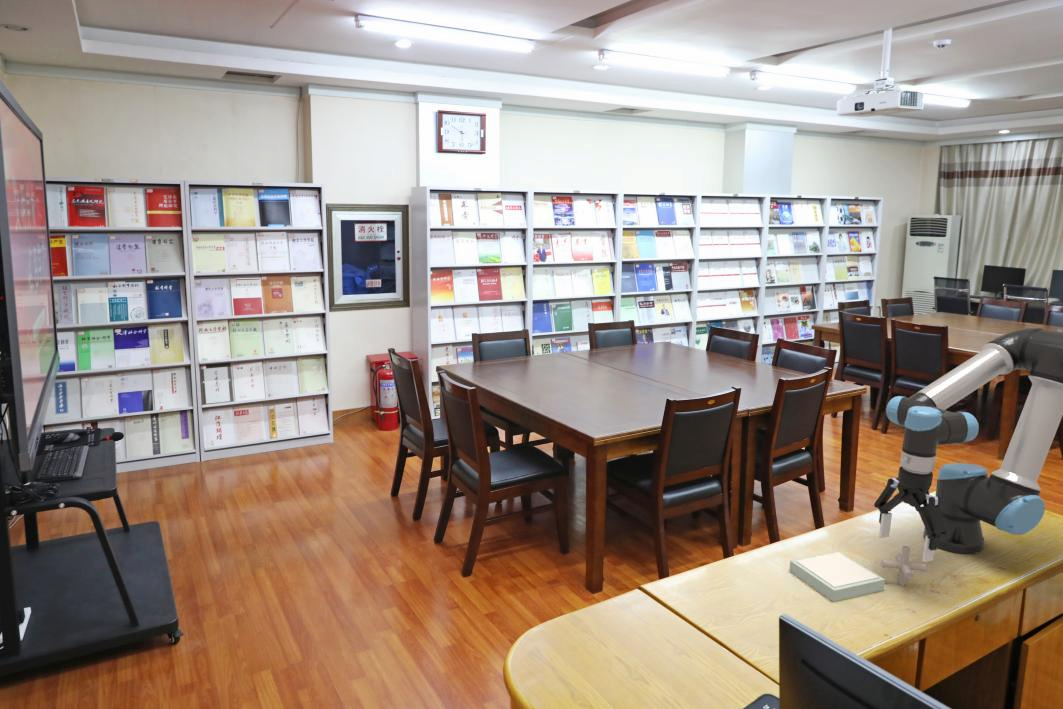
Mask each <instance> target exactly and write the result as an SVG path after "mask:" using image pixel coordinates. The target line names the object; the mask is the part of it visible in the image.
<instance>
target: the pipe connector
mask: <svg viewBox="0 0 1063 709" xmlns="http://www.w3.org/2000/svg"><path fill="white" fill-rule="evenodd" d="M910 555H911V548H910V547H909V546H905V545H903V546H902V547H901V553H896V554H895V555H894V557H895V560H889V559H888V560H887V559H882V560H881V563H882V564H881V566H882V568H888V569H898V578H897V584H898V585H900V586H903V587H904V586H906V583H907V579H909V580H911V579H913V578H914V573H913V572H912V571H917V572H918V571H919V572H927V564H925V563H918V562H909V561H910Z"/></svg>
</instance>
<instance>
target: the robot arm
mask: <svg viewBox="0 0 1063 709" xmlns="http://www.w3.org/2000/svg"><path fill="white" fill-rule="evenodd" d="M1017 370H1024V371H1025V370H1026V371H1029V373H1028V376H1027V377H1028V378H1029V380H1030V382H1031V387H1030V390H1029V392H1028V395H1027V398H1026V400H1025V403H1024V405H1023V408H1022V411H1021V413H1020V416H1019V419H1018V421H1017V424H1016V427H1015V429H1014V432H1013V435H1012V436H1011V439H1010V442H1009V444H1008V447H1007V450H1006V453H1005V454H1004V458H1003V460H1002V463H1001V465H1000V468H999V469H996V470H994V471H991V473H990V476H989V477H988V475H989V473H988V469H987V468H986V467H984V466H981V465H979V464H978V465H977V464H972V463H964V462H952V463H947V464H944V465H941V467H940V468H939V473H938V476H937V478H936V480H937V482H936V488H935V489H936V490H935V496H934V495H932V494H931V495H930V492H929V491H930V488H931V487H932V484H933V478H934V473H933V471H934V470H935V463H936V458H937V457H936V456H937V450H938V446H941V445H942V446H943V445H950V444H951V445H952V444H963V443H966V442H970V441H973V440H975V438H976V437H977V436H978V434H979V429H980V426H979V422H978V420H977V419H976V417H975V416H974V415H973V414H971V413H970V412H966V411H955V412H953V411H948V410H947V409H948V408H950V407H952V406H953V405H954V404H957V402H960V401H961V400H963V399H965V397H967V396H968V395H971V394H972V393H974V391H976V390H978V389H979V388H981V387H982V386H984V385H986V384H988V383H989V382H990V381H992V380H994V379H995V378H996V377H998V376H999V375H1008V374H1010V373H1012V372H1013V371H1017ZM885 413H886V414H885V415H886V416H887V418H888V421H890V422H892V423H894V424H896V425H898V426H899V427H903V428H904V431H903V441H902V447H901V453H900V454H901V455H900V460H899V461H900V462H899V465H900V466H899V467H898V474H897V477H891V478H888V479H887V483H886V486H885V488H884V489H883V490H882V492H881V493H880V495H879V496H878V498H877V499H876V501H875V502H874V503H873V506H874V507H875V508H876V509H878V512H879V519H878V523H879V524H880V526H879V532H878V537H879V538H880V539H884V538H889V537H890V531H891V525H892V517H893V513H891V511H892V510H893V509H895V508H896V507H897V506H898V505H899V504H902V502H903V503H905V504H906V505H909V506H910V507H912V508H915V511H916V512H918V514H919V516H920V518H921V521H922V524H923V525H924V529H923V538H924V545H923V546H924V547H923V552H922V559H921V561H922V562H924V563H927V562H933V561H934V556H935V551H937V550H938V549H941V550H943V551H947V552H952V553H956V554H961V555H962V554H963V555H972V554H978V553H981V552H983V550H984V546H985V538H984V535H983V530H982V525H981V522H983V523H985V524H989V525H991V526H993V527H994V528H996V529H998V530H999V531H1003V532H1006V533H1009V534H1011V535H1017V536H1018V535H1019V536H1020V535H1024V534H1027V533H1029V532H1030V531H1032V530H1034V529H1035V528H1036V527H1037V526H1038V525H1039V524H1040V522H1041V520H1042V519H1043V517H1044V514H1045V511H1046V508H1045V506H1046V504H1045V500H1043V499H1042V497H1040V495H1041V492H1042V488H1041V487H1040V484H1038V479H1039V477H1040V474H1041V472H1042V470H1043V467H1044V464H1045V462H1046V459H1047V456H1048V454H1049V452H1050V449H1051V447H1052V446H1051V445H1052V444H1053V441H1054V438H1055V436H1056V434H1057V431H1058V428H1059V426H1060V423H1061V421H1062V418H1063V331H1057V330H1051V329H1044V328H1040V327H1025V328H1020V329H1017V330H1012V331H1010V332H1009V331H1008V332H1007V333H1005V334H1003V335H1002V334H1001V335H999V336H998V337H995V338H993V339H992V340H990V341H988V342H987V343H985V344H984V345H983V346H982V347H981V349H980V352H978V353H977V354H975V355H974V356H972V357H970V358H969V359H967V360H966V361H964V362H963V363H961V364H959V365H958V366H956V367H955V368H953V369H952V370H950V371H948V372H947V373H945V374H944V375H942V376H941V377H939V378H938V379H936V380H935V381H933V382H931V383H929V384H928V385H927V386H925V387H923V388H922V389H921V390H919V391H917V392H916V393H914V394H912V395H911V396H909V397H907V396H903V395H897V396H894V397H892V398H891V399H890V400H889V401H888V403H887V405H886V408H885ZM896 490H898V492H897V493H896V494H895V495H894V496H893V494H894V493H895V491H896ZM892 496H893V497H892ZM891 497H892V498H891Z"/></svg>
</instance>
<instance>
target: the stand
mask: <svg viewBox="0 0 1063 709" xmlns="http://www.w3.org/2000/svg"><path fill="white" fill-rule="evenodd" d="M788 571H789V572H790V573H791V574H792V575H794V576H795V577H796V578H799V579H800V580H801V581H803V582H804V583H805V584H807V585H808V586H810V587H811V588H813V589H814V590H816V591H817V592H818V593H820V594H821V595H823V596H824V597H825V598H827V599H828V600H830V601H831V602H833V603H834V602H839V601H842V600H847V599H851V598H852V599H853V598H856V597H861V596H864V595H870V594H874V593H879V592H882V591H884V590H885V583H886V582H885V581H886V579H885V578H883V577H881V576H880V575H878V574H877V573H875V572H874V571H872V570H871V569H869V568H867V567H866V566H863V565H862V564H860V563H858V562H857V561H855V560H854V559H852V558H851V557H849V556H847V555H846V554H844V553H842V552H840V551H839V550H837V551H832V552H828V553H823V554H817V555H812V556H808V557H807V556H806V557H802V558H797V559H793V560H790V561H789V570H788Z"/></svg>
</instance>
